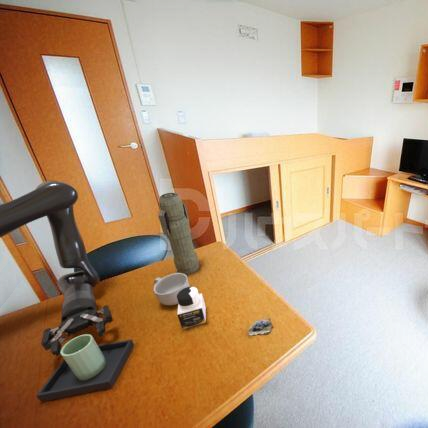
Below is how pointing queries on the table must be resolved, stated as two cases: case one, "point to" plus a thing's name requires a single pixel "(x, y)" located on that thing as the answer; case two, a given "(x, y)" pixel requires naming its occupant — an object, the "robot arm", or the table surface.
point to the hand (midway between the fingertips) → (79, 343)
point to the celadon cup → (83, 356)
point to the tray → (70, 385)
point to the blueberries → (260, 327)
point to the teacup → (170, 287)
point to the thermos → (178, 232)
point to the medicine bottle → (191, 307)
